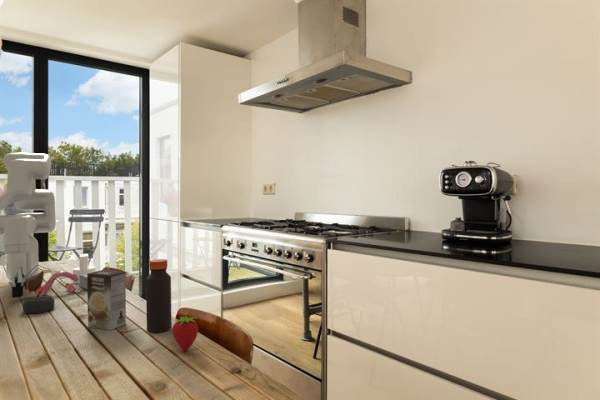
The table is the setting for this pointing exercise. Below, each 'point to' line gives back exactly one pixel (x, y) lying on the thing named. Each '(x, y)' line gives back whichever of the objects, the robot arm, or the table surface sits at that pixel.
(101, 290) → the coffee box
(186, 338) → the strawberry
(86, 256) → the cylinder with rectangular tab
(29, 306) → the smart speaker
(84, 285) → the charging dock
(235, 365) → the table surface
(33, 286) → the anatomy model
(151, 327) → the bottle
